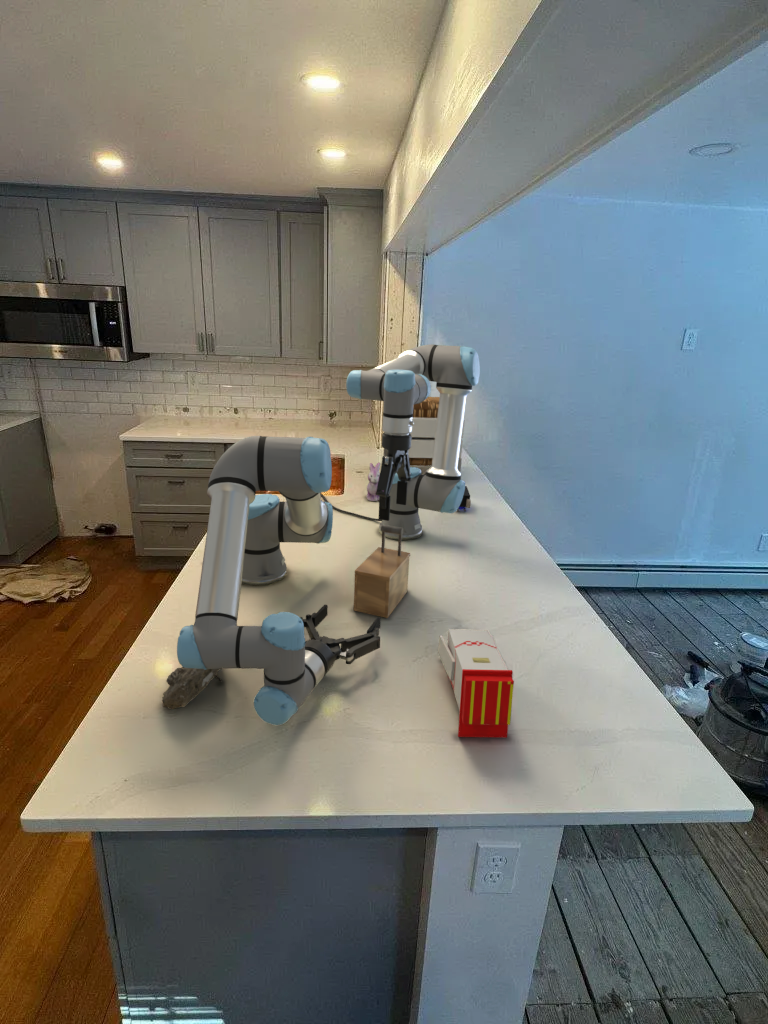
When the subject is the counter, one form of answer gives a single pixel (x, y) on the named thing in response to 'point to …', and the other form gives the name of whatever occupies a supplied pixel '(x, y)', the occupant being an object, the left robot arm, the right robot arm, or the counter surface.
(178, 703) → the fossil
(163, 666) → the counter surface
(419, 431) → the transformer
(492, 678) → the toy
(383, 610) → the chest
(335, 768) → the counter surface
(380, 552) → the lid
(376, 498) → the figurine
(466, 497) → the figurine character
